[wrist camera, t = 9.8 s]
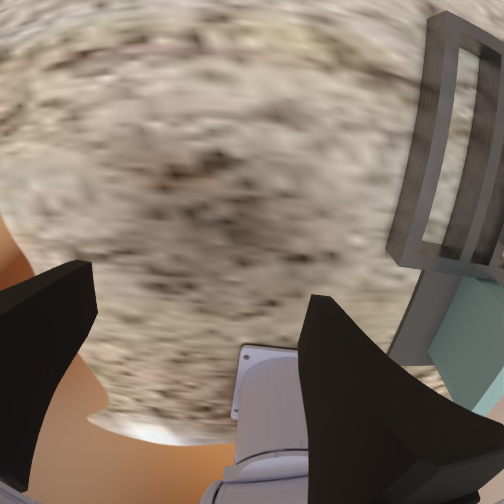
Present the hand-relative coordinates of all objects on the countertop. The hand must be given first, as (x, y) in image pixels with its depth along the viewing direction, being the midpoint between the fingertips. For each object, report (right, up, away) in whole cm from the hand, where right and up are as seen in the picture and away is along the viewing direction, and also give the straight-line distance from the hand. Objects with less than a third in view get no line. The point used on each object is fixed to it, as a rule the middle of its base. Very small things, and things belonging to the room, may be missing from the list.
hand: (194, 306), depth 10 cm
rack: (+18, +8, +7) cm, 21 cm away
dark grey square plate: (+18, -4, +12) cm, 23 cm away
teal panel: (+19, -3, +12) cm, 22 cm away
